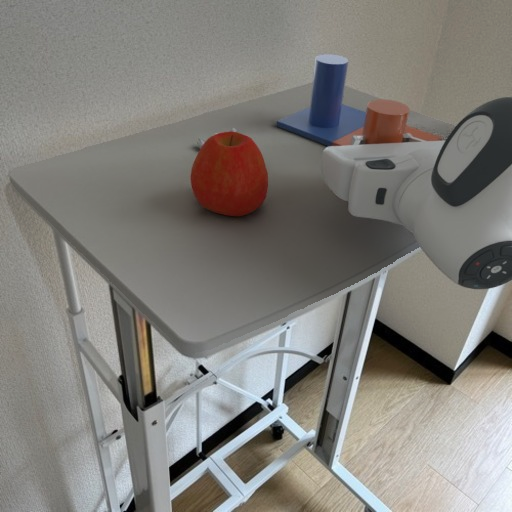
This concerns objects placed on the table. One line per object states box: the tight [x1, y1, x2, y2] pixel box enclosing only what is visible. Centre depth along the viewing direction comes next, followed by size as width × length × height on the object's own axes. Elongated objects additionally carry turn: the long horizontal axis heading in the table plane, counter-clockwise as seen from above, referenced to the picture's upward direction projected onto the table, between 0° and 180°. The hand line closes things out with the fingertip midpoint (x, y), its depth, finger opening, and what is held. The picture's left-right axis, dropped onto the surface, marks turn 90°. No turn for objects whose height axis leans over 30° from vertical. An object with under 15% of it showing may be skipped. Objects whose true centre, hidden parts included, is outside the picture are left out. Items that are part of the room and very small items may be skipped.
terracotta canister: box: [362, 98, 411, 144], centre depth 75 cm, size 6×6×11 cm
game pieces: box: [196, 127, 238, 150], centre depth 90 cm, size 8×2×2 cm, turn 128°
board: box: [276, 103, 442, 147], centre depth 97 cm, size 24×16×1 cm, turn 49°
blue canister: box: [309, 53, 349, 128], centre depth 95 cm, size 6×6×11 cm
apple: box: [189, 130, 269, 217], centre depth 72 cm, size 10×10×10 cm
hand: (378, 139), depth 76 cm, fingers closed on terracotta canister, 5 cm apart
